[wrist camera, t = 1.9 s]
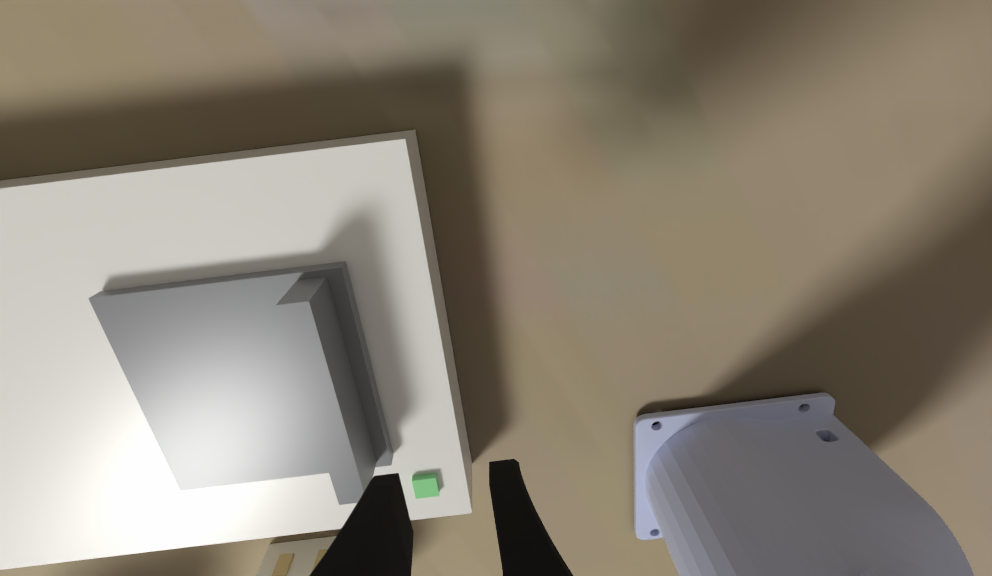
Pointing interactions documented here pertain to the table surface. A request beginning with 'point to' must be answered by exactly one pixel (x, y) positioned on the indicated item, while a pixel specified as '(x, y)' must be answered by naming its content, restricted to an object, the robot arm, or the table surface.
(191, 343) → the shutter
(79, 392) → the socket board
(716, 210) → the table surface
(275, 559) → the plug
